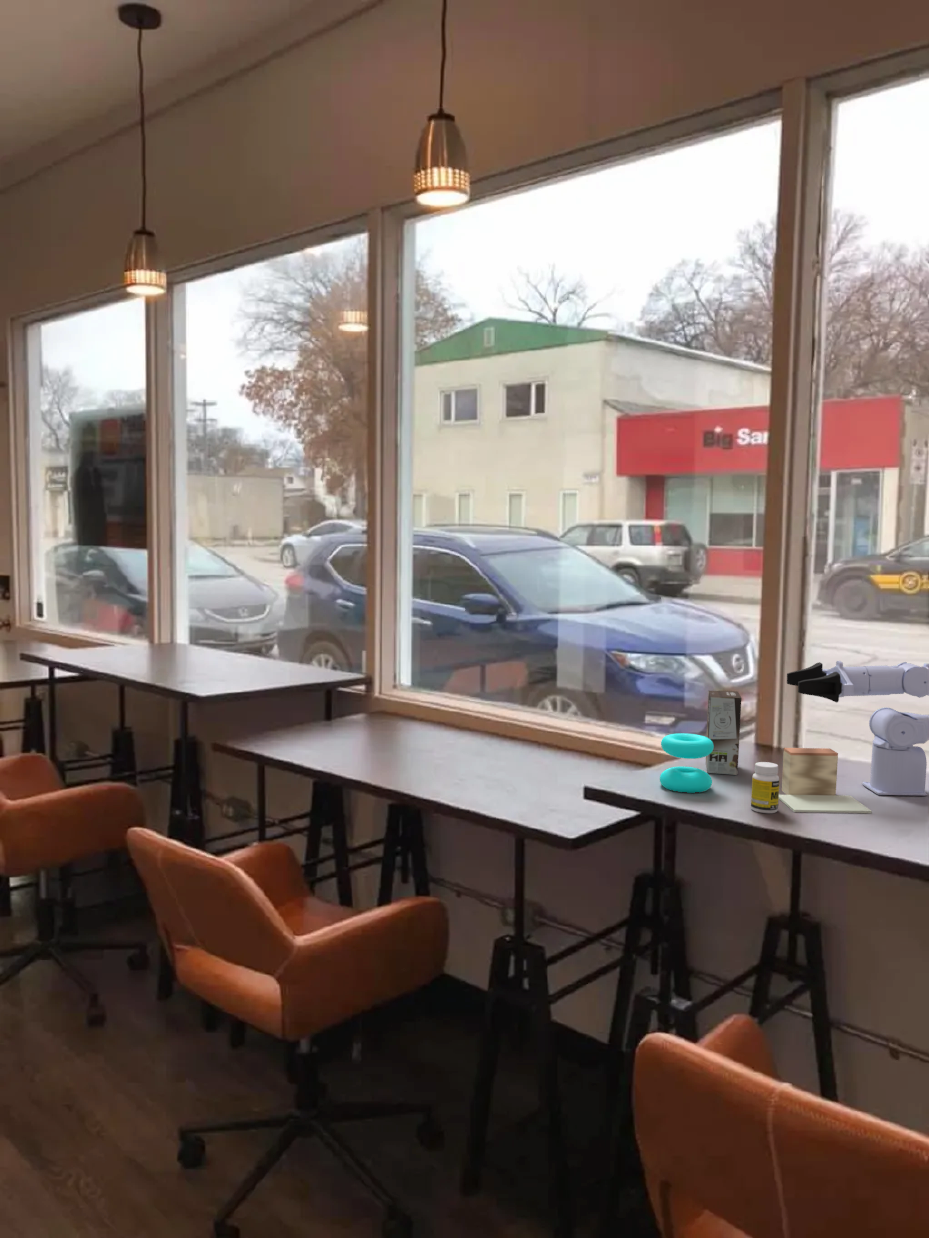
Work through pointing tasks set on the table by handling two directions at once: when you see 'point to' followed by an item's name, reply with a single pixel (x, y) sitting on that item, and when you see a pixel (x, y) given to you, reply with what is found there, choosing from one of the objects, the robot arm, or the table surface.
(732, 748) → the coffee box
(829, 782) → the birch slab
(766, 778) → the supplement bottle
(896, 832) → the table surface
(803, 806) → the green board
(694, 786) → the donuts
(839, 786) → the table surface
